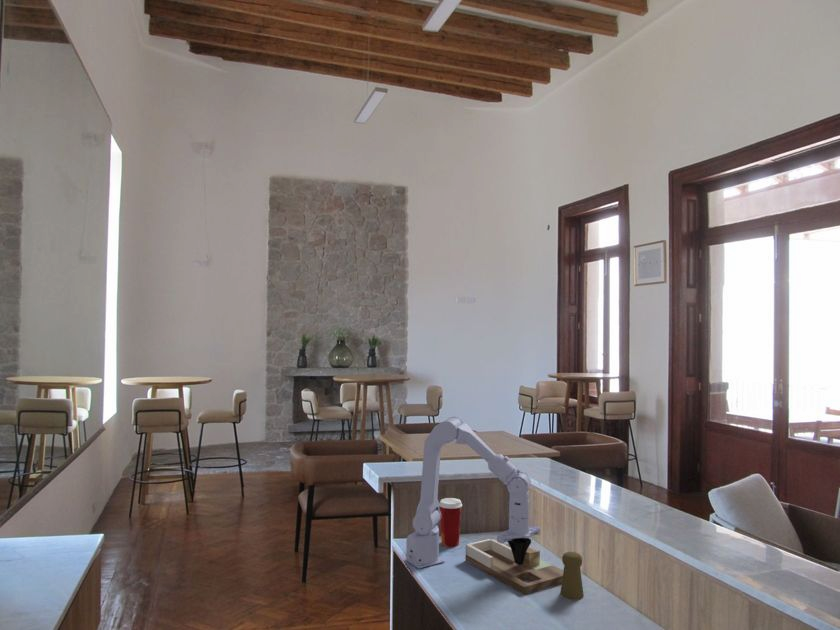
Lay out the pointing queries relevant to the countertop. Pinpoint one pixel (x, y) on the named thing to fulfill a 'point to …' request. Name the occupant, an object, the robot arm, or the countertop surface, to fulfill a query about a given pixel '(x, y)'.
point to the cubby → (479, 547)
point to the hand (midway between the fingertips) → (518, 563)
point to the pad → (541, 565)
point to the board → (519, 573)
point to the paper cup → (450, 521)
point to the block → (532, 557)
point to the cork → (572, 576)
